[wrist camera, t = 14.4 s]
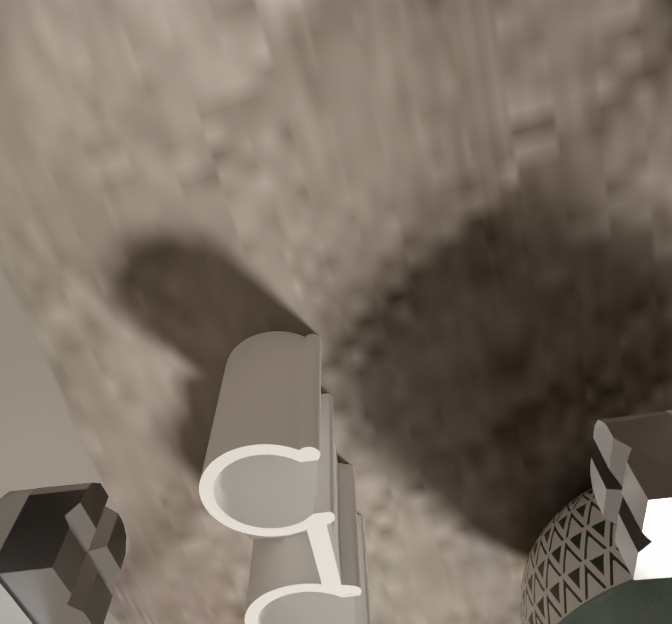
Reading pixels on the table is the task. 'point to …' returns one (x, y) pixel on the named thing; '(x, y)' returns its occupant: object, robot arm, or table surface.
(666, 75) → the table surface
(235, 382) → the c-shaped pipe clip
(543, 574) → the planter
